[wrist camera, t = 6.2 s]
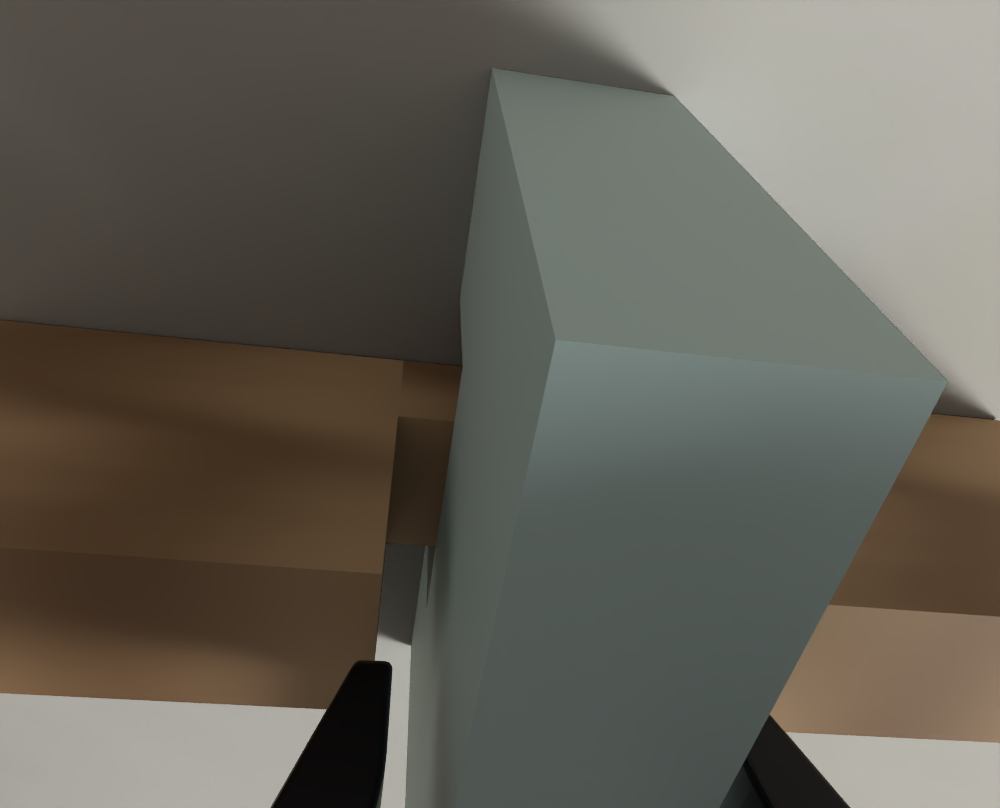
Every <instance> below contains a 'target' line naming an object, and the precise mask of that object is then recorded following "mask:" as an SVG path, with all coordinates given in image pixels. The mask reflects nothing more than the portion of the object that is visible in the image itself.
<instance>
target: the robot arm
mask: <svg viewBox="0 0 1000 808" xmlns="http://www.w3.org/2000/svg"><path fill="white" fill-rule="evenodd" d="M391 681H392V666H391V664H390V663H389V662H386V661H371V660H359V661H357V662H355V663H354V664H353V666H352V667H351V669H350V670H349V672H348V674H347V675H346V677H345V679H344V681H343V682H342V684H341V686H340V688H339V689H338V691H337V693H336V695H335V696H334V698H333V700H332V702H331V703H330V705H329V707H328V709H327V710H326V712H325V714H324V715H323V717H322V719H321V721H320V722H319V724H318V726H317V728H316V729H315V731H314V733H313V735H312V736H311V738H310V740H309V742H308V743H307V745H306V747H305V749H304V750H303V752H302V754H301V755H300V757H299V759H298V761H297V762H296V764H295V766H294V768H293V769H292V771H291V773H290V775H289V776H288V778H287V780H286V782H285V783H284V785H283V787H282V789H281V790H280V792H279V794H278V796H277V797H276V799H275V801H274V802H273V804H272V806H271V808H380V806H381V797H382V789H383V780H384V771H385V763H386V754H387V739H388V725H389V710H390V696H391ZM719 808H850V807H849V806H848V805H847V803H846V802H845V801H844V800H843V799H842V798H841V796H840V795H839V794H838V793H837V792H836V791H835V789H834V788H833V787H832V786H831V785H830V784H829V782H828V781H827V780H826V779H825V778H824V777H823V775H822V774H821V773H820V772H819V771H818V770H817V768H816V767H815V766H814V765H813V764H812V763H811V762H810V760H809V759H808V758H807V757H806V756H805V755H804V753H803V752H802V751H801V750H800V749H799V748H798V746H797V745H796V744H795V743H794V742H793V741H792V739H791V738H790V737H789V736H788V735H787V734H786V732H785V731H784V730H783V729H782V728H781V727H780V725H779V724H778V723H777V722H776V721H775V720H774V718H773V717H772V716H771V715H770V714H769V716H768V718H767V720H766V722H765V724H764V726H763V727H762V729H761V731H760V733H759V735H758V737H757V739H756V740H755V742H754V744H753V746H752V748H751V750H750V752H749V753H748V755H747V757H746V759H745V761H744V763H743V765H742V767H741V768H740V770H739V772H738V774H737V776H736V778H735V780H734V781H733V783H732V785H731V787H730V789H729V791H728V793H727V794H726V796H725V798H724V800H723V802H722V804H721V806H720V807H719Z"/></svg>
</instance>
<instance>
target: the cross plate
mask: <svg viewBox="0 0 1000 808" xmlns="http://www.w3.org/2000/svg"><path fill="white" fill-rule="evenodd" d="M460 315H461V339H462V363H463V368H462V375H461V382H460V388H459V395H458V402H457V408H456V415H455V422H454V429H453V435H452V442H451V449H450V455H449V462H448V469H447V475H446V482H445V489H444V495H443V502H442V509H441V516H440V522H439V529H438V536H437V542H436V547H434V546H425V551H424V559H423V566H422V573H421V580H420V587H419V594H418V602H417V609H416V616H415V623H414V630H413V637H412V645H411V667H410V693H409V720H408V746H407V772H406V798H405V808H719V807H720V806H721V804H722V802H723V800H724V798H725V796H726V794H727V793H728V791H729V789H730V787H731V785H732V783H733V781H734V780H735V778H736V776H737V774H738V772H739V770H740V768H741V767H742V765H743V763H744V761H745V759H746V757H747V755H748V753H749V752H750V750H751V748H752V746H753V744H754V742H755V740H756V739H757V737H758V735H759V733H760V731H761V729H762V727H763V726H764V724H765V722H766V720H767V718H768V716H769V714H770V713H771V711H772V709H773V707H774V705H775V703H776V701H777V700H778V698H779V696H780V694H781V692H782V690H783V688H784V687H785V685H786V683H787V681H788V679H789V677H790V675H791V673H792V672H793V670H794V668H795V666H796V664H797V662H798V660H799V659H800V657H801V655H802V653H803V651H804V649H805V647H806V646H807V644H808V642H809V640H810V638H811V636H812V634H813V633H814V631H815V629H816V627H817V625H818V623H819V621H820V620H821V618H822V616H823V614H824V612H825V610H826V608H827V607H828V605H829V603H830V601H831V599H832V597H833V595H834V593H835V592H836V590H837V588H838V586H839V584H840V582H841V580H842V579H843V577H844V575H845V573H846V571H847V569H848V567H849V566H850V564H851V562H852V560H853V558H854V556H855V554H856V553H857V551H858V549H859V547H860V545H861V543H862V541H863V540H864V538H865V536H866V534H867V532H868V530H869V528H870V527H871V525H872V523H873V521H874V519H875V517H876V515H877V513H878V512H879V510H880V508H881V506H882V504H883V502H884V500H885V499H886V497H887V495H888V493H889V491H890V489H891V487H892V486H893V484H894V482H895V480H896V478H897V476H898V474H899V473H900V471H901V469H902V467H903V465H904V463H905V461H906V460H907V458H908V456H909V454H910V452H911V450H912V448H913V447H914V445H915V443H916V441H917V439H918V437H919V435H920V433H921V432H922V430H923V428H924V426H925V424H926V422H927V420H928V419H929V417H930V415H931V413H932V411H933V409H934V407H935V406H936V404H937V402H938V400H939V398H940V396H941V394H942V393H943V391H944V389H945V387H946V385H947V383H948V381H947V380H946V378H945V377H944V376H943V375H942V374H941V373H940V372H939V371H938V370H937V369H936V368H935V367H934V366H933V365H932V364H931V363H930V362H929V361H928V360H927V359H926V358H925V357H924V356H923V354H922V353H921V352H920V351H919V350H918V349H917V348H916V347H915V346H914V345H913V344H912V343H911V342H910V341H909V340H908V339H907V338H906V337H905V336H904V335H903V334H902V333H901V332H900V330H899V329H898V328H897V327H896V326H895V325H894V324H893V323H892V322H891V321H890V320H889V319H888V318H887V317H886V316H885V315H884V314H883V313H882V312H881V311H880V310H879V309H878V308H877V306H876V305H875V304H874V303H873V302H872V301H871V300H870V299H869V298H868V297H867V296H866V295H865V294H864V293H863V292H862V291H861V290H860V289H859V288H858V287H857V286H856V285H855V284H854V282H853V281H852V280H851V279H850V278H849V277H848V276H847V275H846V274H845V273H844V272H843V271H842V270H841V269H840V268H839V267H838V266H837V265H836V264H835V263H834V262H833V261H832V260H831V259H830V257H829V256H828V255H827V254H826V253H825V252H824V251H823V250H822V249H821V248H820V247H819V246H818V245H817V244H816V243H815V242H814V241H813V240H812V239H811V238H810V237H809V236H808V235H807V233H806V232H805V231H804V230H803V229H802V228H801V227H800V226H799V225H798V224H797V223H796V222H795V221H794V220H793V219H792V218H791V217H790V216H789V215H788V214H787V213H786V212H785V211H784V209H783V208H782V207H781V206H780V205H779V204H778V203H777V202H776V201H775V200H774V199H773V198H772V197H771V196H770V195H769V194H768V193H767V192H766V191H765V190H764V189H763V188H762V187H761V185H760V184H759V183H758V182H757V181H756V180H755V179H754V178H753V177H752V176H751V175H750V174H749V173H748V172H747V171H746V170H745V169H744V168H743V167H742V166H741V165H740V164H739V163H738V161H737V160H736V159H735V158H734V157H733V156H732V155H731V154H730V153H729V152H728V151H727V150H726V149H725V148H724V147H723V146H722V145H721V144H720V143H719V142H718V141H717V140H716V139H715V137H714V136H713V135H712V134H711V133H710V132H709V131H708V130H707V129H706V128H705V127H704V126H703V125H702V124H701V123H700V122H699V121H698V120H697V119H696V118H695V117H694V116H693V115H692V113H691V112H690V111H689V110H688V109H687V108H686V107H685V106H684V105H683V104H682V103H681V102H680V101H679V100H678V99H677V98H676V97H675V96H671V95H665V94H658V93H652V92H645V91H639V90H632V89H626V88H619V87H613V86H606V85H600V84H593V83H586V82H580V81H573V80H567V79H560V78H554V77H547V76H541V75H534V74H528V73H521V72H515V71H508V70H501V69H495V68H492V72H491V79H490V86H489V93H488V100H487V108H486V115H485V122H484V129H483V136H482V143H481V150H480V158H479V165H478V172H477V179H476V186H475V193H474V201H473V208H472V215H471V222H470V229H469V236H468V244H467V251H466V258H465V265H464V272H463V279H462V287H461V294H460Z"/></svg>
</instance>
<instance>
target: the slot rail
mask: <svg viewBox="0 0 1000 808" xmlns="http://www.w3.org/2000/svg"><path fill="white" fill-rule="evenodd" d="M462 368H463V367H461V366H451V365H441V364H431V363H421V362H411V361H401V360H391V359H381V358H372V357H362V356H352V355H342V354H332V353H322V352H312V351H302V350H292V349H282V348H272V347H262V346H252V345H242V344H232V343H222V342H212V341H202V340H192V339H182V338H173V337H163V336H153V335H143V334H133V333H123V332H113V331H103V330H93V329H83V328H73V327H63V326H53V325H43V324H33V323H23V322H13V321H3V320H0V693H11V694H31V695H51V696H71V697H91V698H111V699H131V700H151V701H172V702H192V703H212V704H232V705H252V706H272V707H292V708H313V709H328V707H329V705H330V703H331V702H332V700H333V698H334V696H335V695H336V693H337V691H338V689H339V688H340V686H341V684H342V682H343V681H344V679H345V677H346V675H347V674H348V672H349V670H350V669H351V667H352V666H353V664H354V663H355V662H357V661H359V660H371V661H375V651H376V641H377V631H378V621H379V611H380V601H381V591H382V581H383V571H384V561H385V551H386V543H394V544H407V545H421V546H434V547H436V542H437V536H438V529H439V522H440V516H441V509H442V502H443V495H444V489H445V482H446V475H447V469H448V462H449V455H450V449H451V442H452V435H453V429H454V422H455V415H456V408H457V402H458V395H459V388H460V382H461V375H462ZM770 715H771V716H772V717H773V718H774V720H775V721H776V722H777V723H778V724H779V725H780V727H781V728H782V729H783V730H784V731H785V732H796V733H816V734H836V735H856V736H876V737H896V738H917V739H937V740H957V741H977V742H997V743H1000V421H998V420H988V419H978V418H968V417H958V416H948V415H939V414H931V415H930V417H929V419H928V420H927V422H926V424H925V426H924V428H923V430H922V432H921V433H920V435H919V437H918V439H917V441H916V443H915V445H914V447H913V448H912V450H911V452H910V454H909V456H908V458H907V460H906V461H905V463H904V465H903V467H902V469H901V471H900V473H899V474H898V476H897V478H896V480H895V482H894V484H893V486H892V487H891V489H890V491H889V493H888V495H887V497H886V499H885V500H884V502H883V504H882V506H881V508H880V510H879V512H878V513H877V515H876V517H875V519H874V521H873V523H872V525H871V527H870V528H869V530H868V532H867V534H866V536H865V538H864V540H863V541H862V543H861V545H860V547H859V549H858V551H857V553H856V554H855V556H854V558H853V560H852V562H851V564H850V566H849V567H848V569H847V571H846V573H845V575H844V577H843V579H842V580H841V582H840V584H839V586H838V588H837V590H836V592H835V593H834V595H833V597H832V599H831V601H830V603H829V605H828V607H827V608H826V610H825V612H824V614H823V616H822V618H821V620H820V621H819V623H818V625H817V627H816V629H815V631H814V633H813V634H812V636H811V638H810V640H809V642H808V644H807V646H806V647H805V649H804V651H803V653H802V655H801V657H800V659H799V660H798V662H797V664H796V666H795V668H794V670H793V672H792V673H791V675H790V677H789V679H788V681H787V683H786V685H785V687H784V688H783V690H782V692H781V694H780V696H779V698H778V700H777V701H776V703H775V705H774V707H773V709H772V711H771V713H770Z"/></svg>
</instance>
